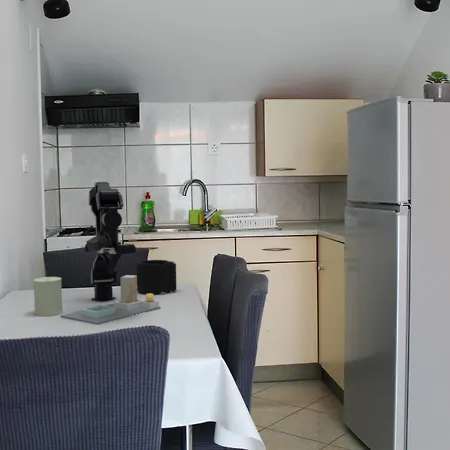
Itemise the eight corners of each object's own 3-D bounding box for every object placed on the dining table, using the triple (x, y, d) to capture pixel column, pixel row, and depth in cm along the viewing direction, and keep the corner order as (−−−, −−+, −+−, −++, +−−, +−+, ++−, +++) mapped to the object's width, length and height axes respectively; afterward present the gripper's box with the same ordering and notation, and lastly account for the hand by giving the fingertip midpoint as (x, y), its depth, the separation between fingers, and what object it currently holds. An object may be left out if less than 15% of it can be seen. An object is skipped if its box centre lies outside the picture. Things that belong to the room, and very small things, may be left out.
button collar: (141, 307, 209) (141, 301, 209) (149, 305, 212) (149, 299, 212) (150, 309, 207) (150, 303, 206) (158, 306, 210) (158, 301, 210)
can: (37, 317, 200) (35, 280, 199) (32, 311, 208) (30, 276, 207) (65, 314, 204) (64, 278, 203) (59, 308, 212) (58, 274, 211)
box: (132, 309, 208) (131, 277, 207) (120, 309, 209) (119, 277, 208) (137, 306, 213) (137, 275, 212) (126, 306, 214) (125, 274, 213)
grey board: (60, 317, 199) (60, 309, 198) (124, 302, 221) (123, 295, 221) (97, 324, 188) (97, 316, 188) (160, 308, 210) (160, 301, 210)
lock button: (145, 302, 209) (144, 294, 209) (149, 301, 211) (149, 293, 211) (150, 303, 208) (149, 294, 208) (154, 302, 210) (154, 293, 209)
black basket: (154, 287, 252) (153, 258, 251) (182, 290, 243) (181, 261, 242) (129, 292, 240) (128, 262, 239) (158, 296, 231) (157, 265, 230)
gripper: (71, 227, 201) (73, 274, 202) (111, 229, 190) (112, 279, 191) (97, 225, 210) (98, 270, 211) (136, 227, 199) (137, 274, 200)
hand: (110, 273), depth 203 cm, fingers closed
